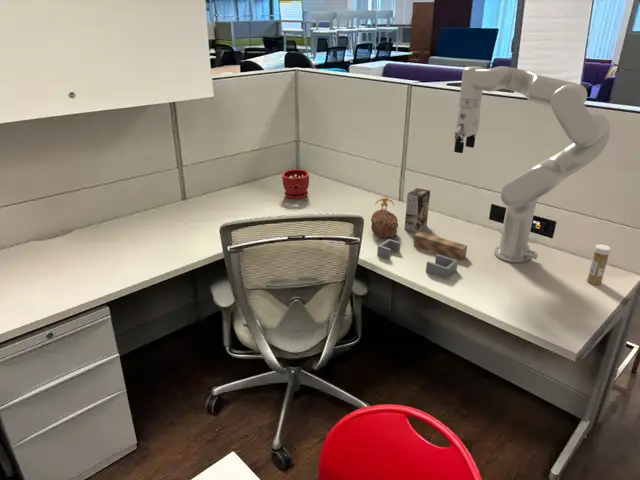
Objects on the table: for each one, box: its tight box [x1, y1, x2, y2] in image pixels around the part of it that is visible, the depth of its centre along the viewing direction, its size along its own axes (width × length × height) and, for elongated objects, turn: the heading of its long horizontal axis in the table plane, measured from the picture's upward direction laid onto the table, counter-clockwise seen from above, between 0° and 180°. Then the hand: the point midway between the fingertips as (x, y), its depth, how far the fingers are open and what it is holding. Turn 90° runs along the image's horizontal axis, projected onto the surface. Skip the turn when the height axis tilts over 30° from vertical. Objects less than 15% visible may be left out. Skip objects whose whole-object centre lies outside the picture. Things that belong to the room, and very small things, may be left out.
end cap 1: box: [376, 238, 401, 260], centre depth 187 cm, size 5×8×4 cm, turn 141°
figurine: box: [374, 194, 395, 210], centre depth 214 cm, size 8×6×12 cm
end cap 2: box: [425, 253, 459, 280], centre depth 174 cm, size 8×8×4 cm
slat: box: [413, 231, 468, 261], centre depth 189 cm, size 20×4×5 cm, turn 51°
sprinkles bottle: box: [586, 243, 612, 286], centre depth 165 cm, size 5×5×14 cm
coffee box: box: [404, 187, 431, 233], centre depth 206 cm, size 9×6×16 cm
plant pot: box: [281, 169, 310, 200], centre depth 241 cm, size 13×13×12 cm
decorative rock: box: [370, 208, 399, 238], centre depth 202 cm, size 13×11×10 cm
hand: (464, 149), depth 184 cm, fingers open, 9 cm apart
